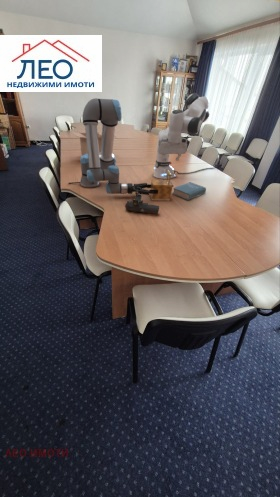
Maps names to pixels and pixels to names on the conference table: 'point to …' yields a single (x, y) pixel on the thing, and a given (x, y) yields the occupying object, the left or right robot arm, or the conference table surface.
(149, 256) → the conference table surface
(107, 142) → the left robot arm
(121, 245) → the conference table surface
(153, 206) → the laser sight
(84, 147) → the box
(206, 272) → the conference table surface
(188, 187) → the book
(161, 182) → the lid
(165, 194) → the chest
